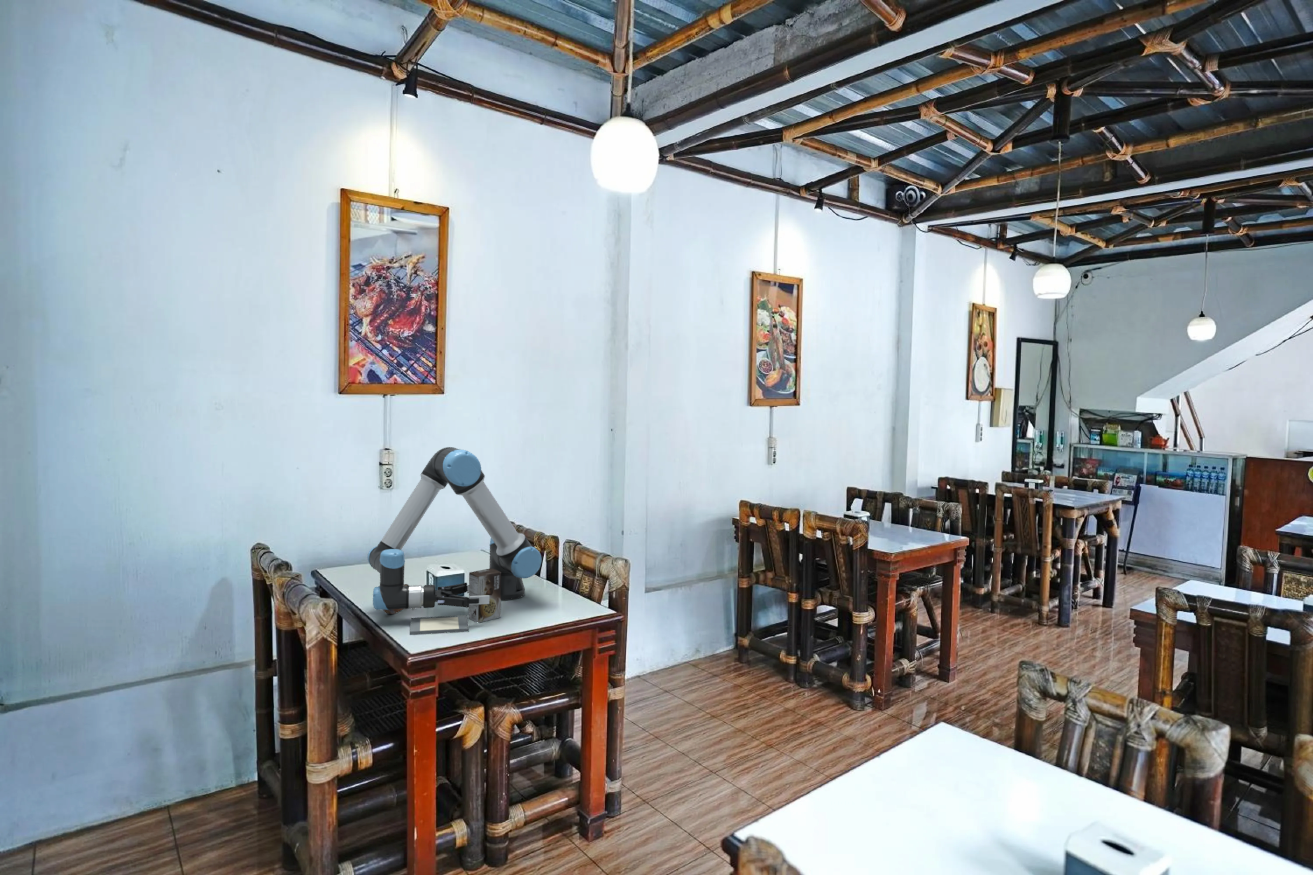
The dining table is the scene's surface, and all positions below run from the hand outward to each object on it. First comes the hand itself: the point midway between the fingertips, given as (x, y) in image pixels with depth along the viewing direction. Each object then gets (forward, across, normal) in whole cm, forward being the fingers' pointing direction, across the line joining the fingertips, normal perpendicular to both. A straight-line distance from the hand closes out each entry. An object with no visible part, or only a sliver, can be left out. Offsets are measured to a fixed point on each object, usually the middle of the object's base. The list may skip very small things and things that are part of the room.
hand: (488, 593), depth 254 cm
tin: (-30, -14, -9) cm, 34 cm away
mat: (-16, +6, -8) cm, 19 cm away
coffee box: (-1, 0, -9) cm, 9 cm away
